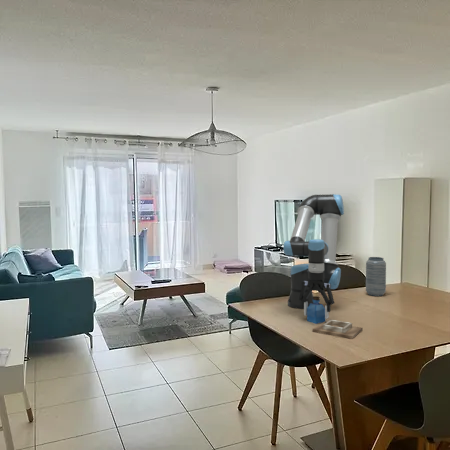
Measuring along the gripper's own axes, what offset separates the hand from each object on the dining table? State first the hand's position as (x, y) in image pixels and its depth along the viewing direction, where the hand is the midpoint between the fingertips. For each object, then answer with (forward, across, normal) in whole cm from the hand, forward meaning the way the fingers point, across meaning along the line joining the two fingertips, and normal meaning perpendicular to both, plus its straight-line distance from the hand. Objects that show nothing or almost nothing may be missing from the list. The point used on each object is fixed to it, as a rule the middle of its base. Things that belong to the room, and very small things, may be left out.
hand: (316, 316), depth 202 cm
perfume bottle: (+3, 0, 0) cm, 3 cm away
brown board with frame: (+2, +14, -9) cm, 17 cm away
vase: (+2, +8, +73) cm, 73 cm away
